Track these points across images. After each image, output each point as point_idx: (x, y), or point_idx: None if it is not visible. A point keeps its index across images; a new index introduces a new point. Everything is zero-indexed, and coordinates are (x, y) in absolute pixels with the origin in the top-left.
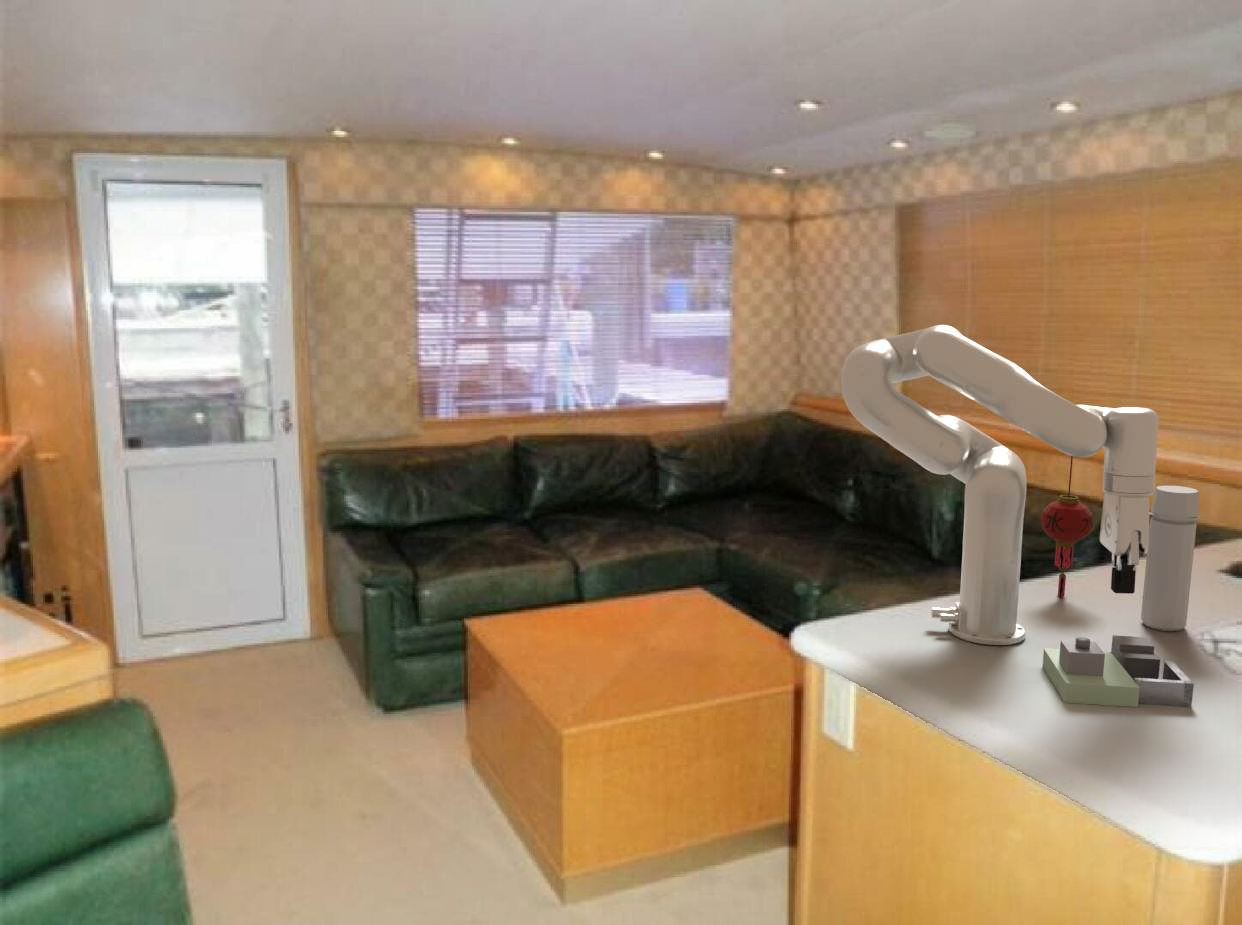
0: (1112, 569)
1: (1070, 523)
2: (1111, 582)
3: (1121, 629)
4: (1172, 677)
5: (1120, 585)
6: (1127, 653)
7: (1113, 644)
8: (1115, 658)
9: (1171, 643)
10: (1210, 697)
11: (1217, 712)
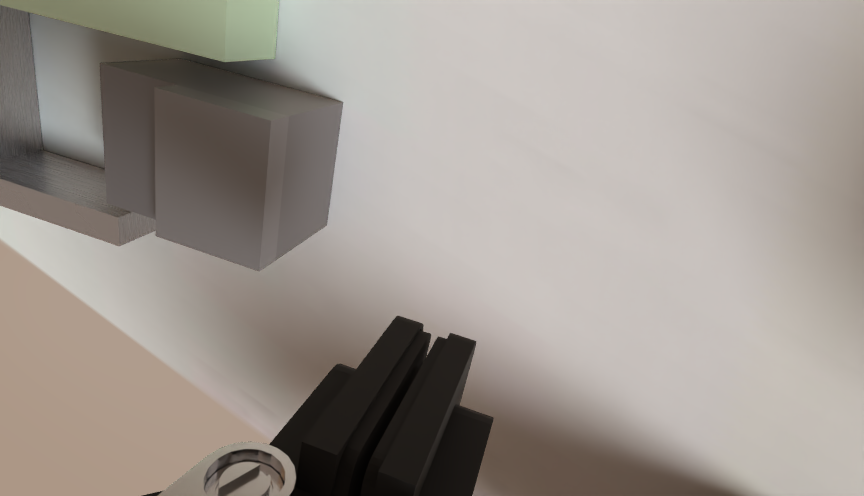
0: (403, 461)
1: None
2: (453, 370)
3: (755, 400)
4: (59, 183)
5: (329, 372)
6: (145, 100)
7: (271, 109)
8: (155, 43)
9: (547, 468)
10: (103, 267)
11: (12, 217)
